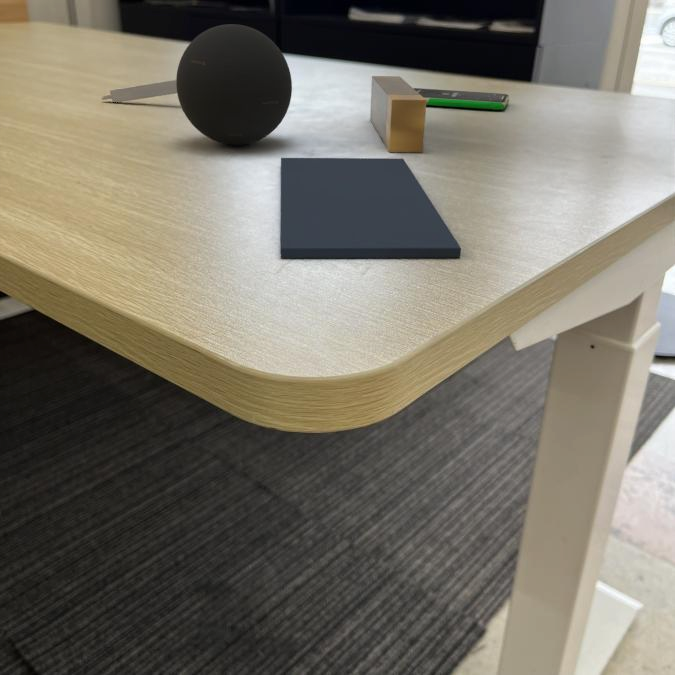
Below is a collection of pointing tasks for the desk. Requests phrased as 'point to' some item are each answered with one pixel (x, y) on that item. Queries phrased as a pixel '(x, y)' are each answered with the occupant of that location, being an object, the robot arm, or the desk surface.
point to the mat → (358, 211)
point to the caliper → (142, 91)
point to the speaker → (234, 84)
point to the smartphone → (464, 99)
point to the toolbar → (398, 114)
